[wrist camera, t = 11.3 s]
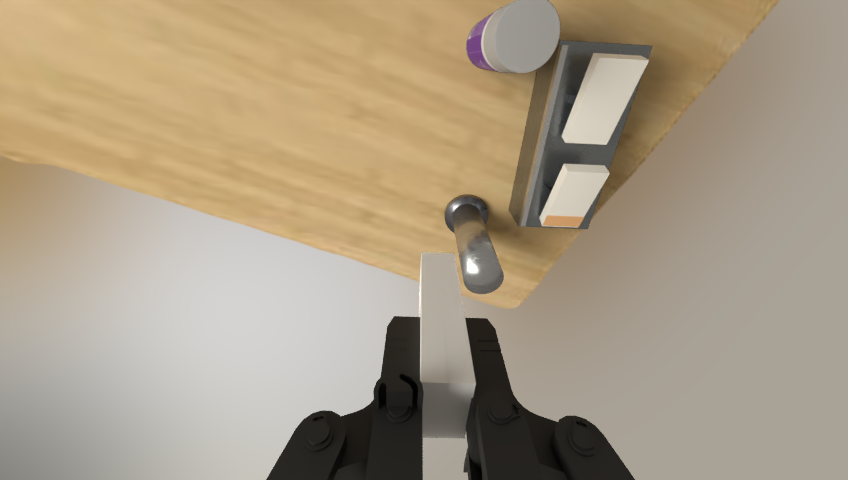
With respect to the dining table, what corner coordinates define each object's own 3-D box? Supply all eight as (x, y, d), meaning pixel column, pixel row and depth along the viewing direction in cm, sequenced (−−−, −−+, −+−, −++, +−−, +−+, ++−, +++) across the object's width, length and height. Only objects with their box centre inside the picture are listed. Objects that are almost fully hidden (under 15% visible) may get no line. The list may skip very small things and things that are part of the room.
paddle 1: (593, 52, 28) (599, 57, 27) (641, 55, 28) (649, 60, 27) (561, 136, 34) (565, 142, 33) (601, 138, 34) (606, 144, 33)
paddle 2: (563, 163, 33) (568, 171, 32) (604, 165, 33) (610, 173, 32) (539, 218, 39) (542, 226, 38) (574, 219, 39) (577, 228, 38)
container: (467, 72, 35) (493, 79, 22) (464, 22, 33) (492, -2, 20) (508, 66, 35) (559, 70, 22) (509, 15, 33) (565, -13, 20)
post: (446, 193, 43) (457, 252, 30) (489, 195, 43) (519, 254, 30) (443, 232, 46) (451, 300, 33) (483, 233, 46) (507, 302, 33)
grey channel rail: (542, 42, 34) (565, 39, 29) (623, 47, 34) (660, 45, 29) (508, 209, 44) (520, 230, 39) (571, 212, 44) (591, 233, 39)
